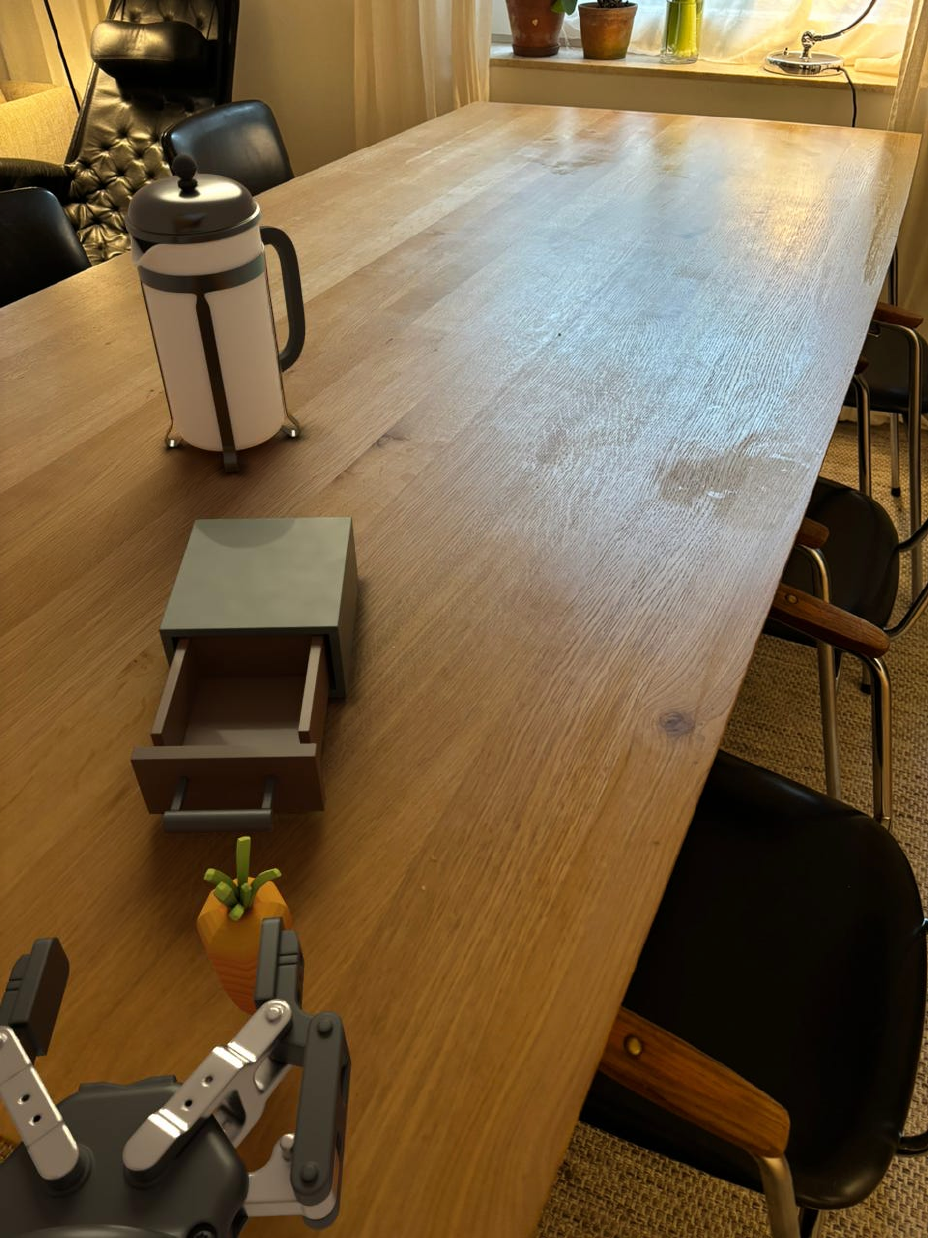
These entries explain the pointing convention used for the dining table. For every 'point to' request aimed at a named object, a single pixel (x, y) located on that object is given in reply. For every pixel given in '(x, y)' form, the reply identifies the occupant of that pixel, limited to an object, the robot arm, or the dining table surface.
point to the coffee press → (215, 308)
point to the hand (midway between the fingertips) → (165, 940)
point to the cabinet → (268, 585)
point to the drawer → (237, 734)
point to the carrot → (239, 924)
